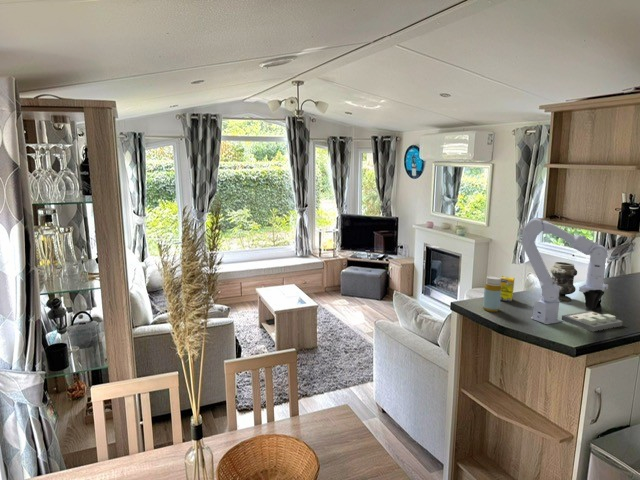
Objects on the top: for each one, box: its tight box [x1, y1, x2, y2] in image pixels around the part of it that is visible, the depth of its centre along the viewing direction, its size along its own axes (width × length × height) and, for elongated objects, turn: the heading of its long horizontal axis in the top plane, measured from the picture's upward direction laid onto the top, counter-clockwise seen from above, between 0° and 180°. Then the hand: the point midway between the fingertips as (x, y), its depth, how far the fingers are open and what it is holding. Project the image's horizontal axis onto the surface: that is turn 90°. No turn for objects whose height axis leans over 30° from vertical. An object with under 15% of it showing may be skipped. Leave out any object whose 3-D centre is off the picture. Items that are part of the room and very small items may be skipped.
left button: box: [582, 317, 596, 325], centre depth 180 cm, size 4×4×2 cm
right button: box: [602, 313, 617, 321], centre depth 185 cm, size 4×4×2 cm
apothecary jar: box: [549, 261, 578, 302], centre depth 217 cm, size 12×12×18 cm
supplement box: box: [500, 276, 515, 303], centre depth 214 cm, size 6×6×11 cm
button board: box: [561, 310, 623, 332], centre depth 185 cm, size 18×14×2 cm
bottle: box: [482, 275, 501, 313], centre depth 199 cm, size 7×7×15 cm
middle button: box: [592, 316, 606, 323], centre depth 182 cm, size 4×4×2 cm
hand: (591, 307), depth 179 cm, fingers closed
